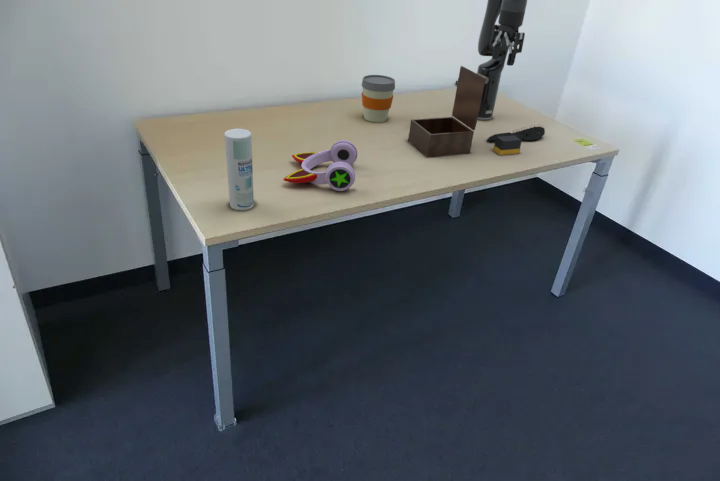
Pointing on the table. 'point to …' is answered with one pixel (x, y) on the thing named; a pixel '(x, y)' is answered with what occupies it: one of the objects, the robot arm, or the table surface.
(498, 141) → the duster
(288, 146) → the table surface
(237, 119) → the table surface
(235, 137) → the spray can
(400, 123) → the table surface
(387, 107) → the reusable coffee cup
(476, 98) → the case lid
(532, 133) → the hairbrush
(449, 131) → the case
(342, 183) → the headphones
